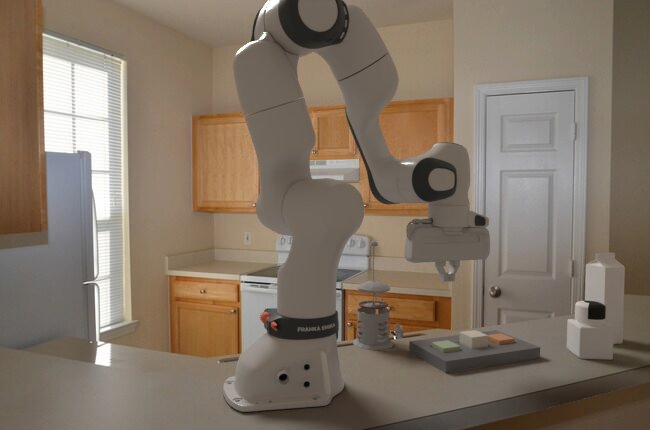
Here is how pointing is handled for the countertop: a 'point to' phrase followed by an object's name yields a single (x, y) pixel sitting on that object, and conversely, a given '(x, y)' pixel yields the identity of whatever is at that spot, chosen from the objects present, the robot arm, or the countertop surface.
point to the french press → (373, 317)
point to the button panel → (473, 353)
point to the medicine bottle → (590, 332)
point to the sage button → (445, 346)
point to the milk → (607, 289)
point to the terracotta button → (500, 339)
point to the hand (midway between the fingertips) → (447, 281)
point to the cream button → (473, 339)
